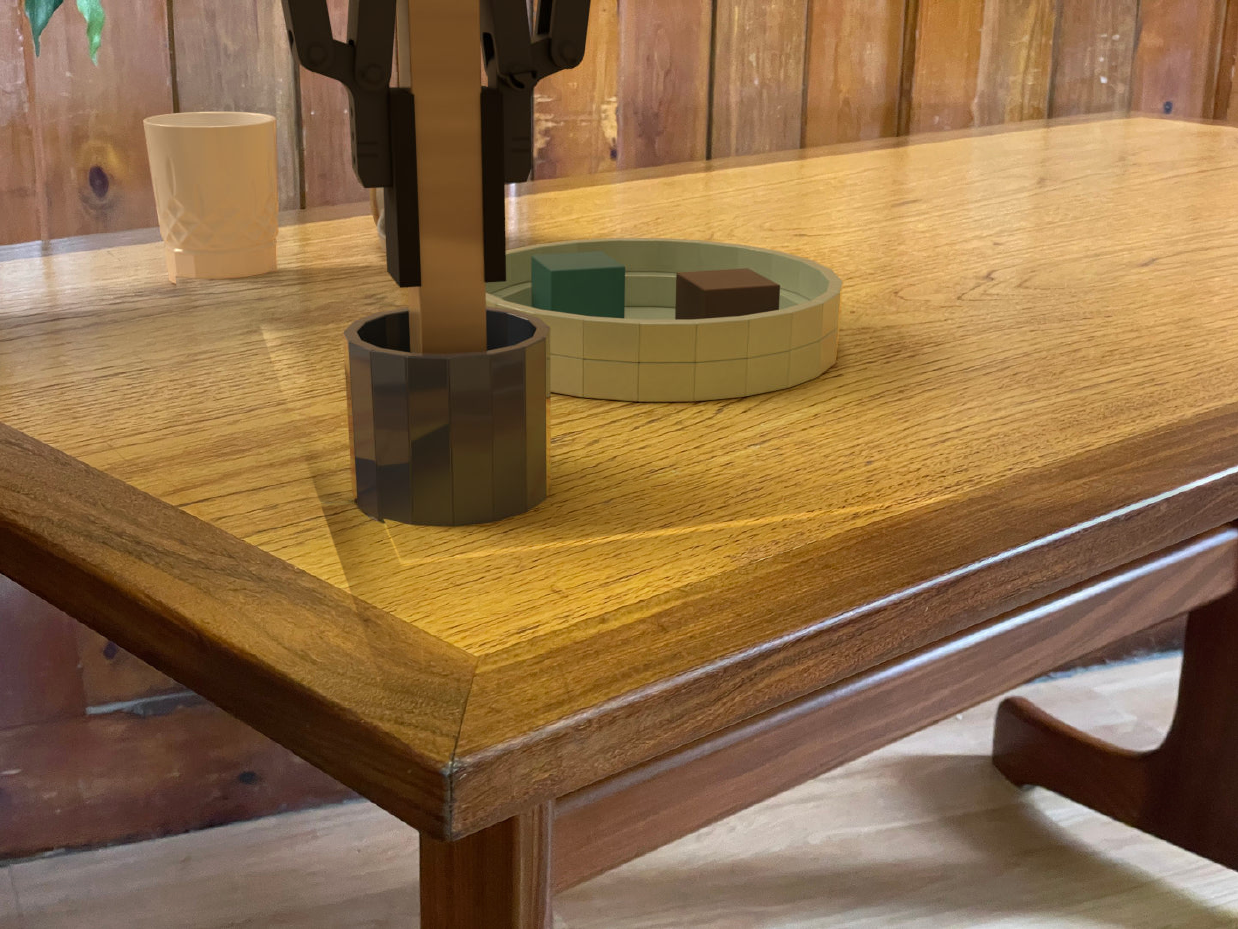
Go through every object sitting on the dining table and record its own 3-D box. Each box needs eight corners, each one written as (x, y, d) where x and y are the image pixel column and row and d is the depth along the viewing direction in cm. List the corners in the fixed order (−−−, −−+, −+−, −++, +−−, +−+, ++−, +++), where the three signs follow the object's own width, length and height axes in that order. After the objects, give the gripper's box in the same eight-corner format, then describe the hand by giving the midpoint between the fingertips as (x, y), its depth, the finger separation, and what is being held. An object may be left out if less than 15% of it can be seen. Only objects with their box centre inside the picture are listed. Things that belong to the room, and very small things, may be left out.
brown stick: (415, 484, 53) (392, -71, 46) (476, 477, 54) (462, -70, 47) (427, 506, 51) (405, -71, 44) (490, 499, 52) (478, -70, 45)
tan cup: (132, 283, 86) (114, 120, 83) (218, 260, 93) (204, 108, 90) (230, 298, 83) (216, 129, 80) (312, 273, 90) (302, 116, 86)
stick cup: (342, 482, 55) (331, 311, 52) (522, 464, 57) (520, 299, 55) (371, 556, 48) (360, 364, 46) (573, 532, 51) (573, 348, 48)
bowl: (429, 326, 78) (426, 247, 76) (745, 304, 84) (749, 230, 82) (514, 435, 60) (513, 336, 59) (905, 398, 66) (913, 307, 65)
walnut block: (673, 348, 71) (675, 272, 70) (744, 342, 72) (748, 267, 71) (702, 369, 68) (705, 289, 66) (776, 363, 69) (781, 284, 67)
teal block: (531, 327, 75) (530, 254, 73) (601, 322, 76) (602, 250, 74) (551, 346, 71) (551, 270, 70) (624, 341, 72) (625, 266, 71)
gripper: (154, -569, 36) (231, 315, 44) (706, -502, 40) (682, 286, 49) (150, -488, 42) (218, 266, 51) (624, -439, 47) (616, 245, 55)
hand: (445, 274), depth 50 cm, fingers closed on brown stick, 2 cm apart
